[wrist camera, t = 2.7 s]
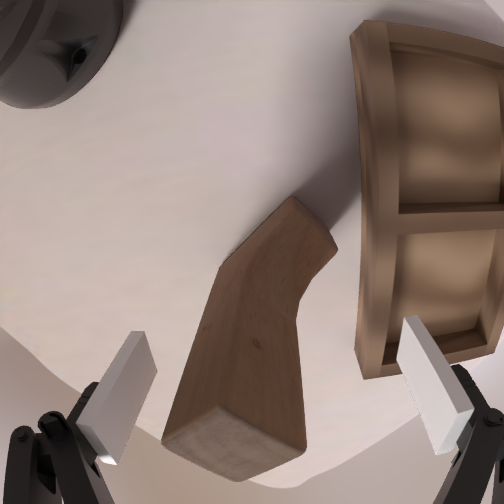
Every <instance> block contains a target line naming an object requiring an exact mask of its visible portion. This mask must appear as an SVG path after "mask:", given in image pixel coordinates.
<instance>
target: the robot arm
mask: <svg viewBox="0 0 504 504" xmlns="http://www.w3.org/2000/svg"><path fill="white" fill-rule="evenodd" d="M122 10H123V3H122V0H0V101H2V102H4V103H6V104H8V105H10V106H13V107H16V108H21V109H39V108H47V107H51V106H54V105H57V104H59V103H61V102H63V101H65V100H67V99H69V98H70V97H71V96H73V95H74V94H76V93H77V92H78V91H79V90H80V89H82V88H83V87H84V86H85V85H86V84H87V83H88V82H89V81H90V80H91V79H92V77H93V76H94V75H95V74H96V72H97V71H98V70H99V69H100V67H101V66H102V64H103V63H104V61H105V59H106V58H107V56H108V54H109V53H110V51H111V49H112V47H113V44H114V42H115V40H116V37H117V34H118V31H119V28H120V24H121V19H122ZM396 360H397V362H398V364H399V366H400V369H401V371H402V373H403V375H404V378H405V380H406V382H407V385H408V387H409V389H410V391H411V394H412V396H413V399H414V401H415V403H416V406H417V408H418V411H419V413H420V416H421V418H422V421H423V423H424V425H425V428H426V431H427V433H428V436H429V438H430V441H431V444H432V446H433V449H434V451H435V454H436V455H439V454H443V453H446V452H449V451H452V449H453V448H454V446H455V444H456V443H457V445H458V448H459V451H458V452H457V454H456V456H455V457H454V459H453V460H452V462H451V463H453V464H452V466H451V468H450V471H449V472H448V475H447V477H446V479H445V481H444V483H443V485H442V487H441V489H440V491H439V493H438V495H437V497H436V499H435V501H434V502H433V504H480V503H481V500H482V498H483V495H484V493H485V490H486V487H487V484H488V481H489V479H490V476H491V473H492V470H493V467H494V464H495V475H494V488H493V496H492V504H504V414H503V413H502V412H501V411H499V410H497V409H495V408H490V407H489V405H488V404H487V402H486V400H485V399H484V397H483V395H482V394H481V392H480V390H479V389H478V387H477V386H476V384H475V382H474V381H473V380H472V377H471V376H470V374H469V373H468V371H467V370H466V369H465V368H463V367H462V366H461V365H459V364H457V365H452V366H450V365H449V363H448V362H447V360H446V359H445V357H444V355H443V354H442V352H441V351H440V349H439V347H438V346H437V344H436V343H435V341H434V340H433V338H432V336H431V335H430V333H429V332H428V330H427V329H426V327H425V326H424V324H423V323H422V321H421V320H420V318H419V317H418V315H415V316H407V317H404V320H403V326H402V332H401V338H400V343H399V348H398V354H397V359H396ZM156 373H157V369H156V366H155V363H154V360H153V357H152V354H151V351H150V348H149V345H148V341H147V338H146V335H145V332H144V331H131V333H130V334H129V336H128V337H127V339H126V340H125V342H124V344H123V345H122V347H121V348H120V350H119V352H118V353H117V355H116V356H115V358H114V360H113V361H112V363H111V364H110V366H109V368H108V369H107V371H106V373H105V374H104V376H103V377H102V379H101V381H100V382H92V383H91V384H90V385H89V386H88V387H86V388H85V390H84V392H83V393H82V395H81V397H80V398H79V400H78V401H77V403H76V405H75V406H74V408H73V409H72V411H71V413H70V414H69V416H68V418H67V419H65V418H64V416H63V415H62V414H61V413H60V412H57V411H51V412H48V413H46V414H44V415H43V416H42V417H41V418H40V419H39V421H38V428H39V429H40V430H41V432H42V433H34V431H33V430H32V429H31V427H29V426H20V427H18V428H16V429H15V430H14V431H13V433H12V435H11V438H10V444H9V451H8V458H7V466H6V473H5V483H4V496H3V504H62V498H63V501H64V504H115V503H114V501H113V499H112V497H111V494H110V492H109V490H108V488H107V486H106V484H105V481H104V479H103V477H102V474H101V472H100V470H99V467H98V465H97V463H96V462H95V459H96V457H97V455H98V456H99V457H100V459H101V460H102V462H105V463H109V464H114V465H118V463H119V460H120V458H121V456H122V453H123V451H124V448H125V446H126V443H127V441H128V439H129V436H130V434H131V431H132V429H133V427H134V424H135V422H136V420H137V417H138V415H139V412H140V410H141V408H142V405H143V403H144V401H145V398H146V396H147V394H148V392H149V389H150V387H151V385H152V382H153V380H154V378H155V375H156Z"/></svg>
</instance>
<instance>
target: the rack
mask: <svg viewBox="0 0 504 504" xmlns="http://www.w3.org/2000/svg"><path fill="white" fill-rule="evenodd" d="M350 44H351V52H352V59H353V68H354V76H355V86H356V96H357V108H358V121H359V136H360V156H361V192H362V229H361V265H360V286H359V302H358V315H357V327H356V338H355V348H354V350H355V353H356V356H357V360H358V363H359V366H360V369H361V373H362V376H363V379H364V380H365V379H372V378H379V377H386V376H392V375H398V374H403V373H402V371H401V369H400V366H399V364H398V362H397V360H396V359H397V354H398V348H399V343H400V338H401V332H402V326H403V320H404V317H407V316H415V315H418V317H419V318H420V320H421V321H422V323H423V324H424V326H425V327H426V329H427V330H428V332H429V333H430V335H431V336H432V338H433V340H434V341H435V343H436V344H437V346H438V347H439V349H440V351H441V352H442V354H443V355H444V357H445V359H446V360H447V362H448V363H449V364H454V363H458V362H462V361H466V360H470V359H474V358H478V357H482V356H486V355H489V354H493V353H494V352H495V349H496V346H497V343H498V341H499V338H500V335H501V332H502V329H503V326H504V47H501V46H498V45H494V44H491V43H488V42H484V41H481V40H477V39H474V38H470V37H466V36H462V35H458V34H453V33H449V32H444V31H440V30H435V29H429V28H424V27H418V26H411V25H405V24H397V23H389V22H380V21H369V20H364V21H363V22H362V23H361V25H360V26H359V27H358V28H357V29H356V30H355V31H354V32H353V33H352V34H351V35H350Z"/></svg>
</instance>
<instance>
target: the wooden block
mask: <svg viewBox="0 0 504 504" xmlns="http://www.w3.org/2000/svg"><path fill="white" fill-rule="evenodd" d="M337 251H338V248H337V245H336V243H335V241H334V239H333V237H332V235H331V234H330V232H329V230H328V228H327V227H326V226H325V225H324V224H323V223H322V222H321V221H319V220H318V219H317V218H316V217H315V216H314V215H313V214H312V213H311V212H310V211H309V210H308V209H307V208H306V207H305V206H304V205H303V204H302V203H301V202H300V201H299V200H298V199H297V198H296V197H293V196H291V197H288V198H287V199H286V200H285V201H284V202H283V203H282V204H281V205H280V206H279V208H278V209H277V210H276V211H275V212H274V213H273V214H272V215H271V216H270V217H269V218H268V219H267V220H266V221H265V222H264V223H263V224H262V225H261V226H260V227H259V228H258V229H257V230H256V231H255V232H254V233H253V234H252V235H251V236H250V237H249V238H248V239H247V240H246V241H245V242H244V243H243V244H242V245H241V246H240V247H239V248H238V249H237V250H236V251H235V252H234V253H233V254H232V255H231V256H230V257H229V258H228V259H227V260H226V261H225V262H224V263H223V264H222V265H221V266H220V267H219V270H218V273H217V276H216V278H215V281H214V284H213V286H212V289H211V292H210V295H209V298H208V301H207V304H206V307H205V309H204V312H203V315H202V318H201V321H200V324H199V327H198V330H197V333H196V336H195V339H194V342H193V345H192V348H191V351H190V354H189V357H188V360H187V363H186V365H185V368H184V371H183V374H182V377H181V380H180V383H179V386H178V390H177V393H176V396H175V399H174V402H173V405H172V408H171V411H170V414H169V417H168V420H167V423H166V426H165V429H164V433H163V436H162V439H161V444H162V445H163V446H164V447H165V448H166V449H168V450H169V451H171V452H173V453H175V454H177V455H179V456H181V457H182V458H184V459H186V460H188V461H190V462H192V463H194V464H196V465H198V466H200V467H202V468H204V469H206V470H208V471H211V472H213V473H215V474H217V475H220V476H222V477H224V478H226V479H228V480H231V481H235V482H241V481H244V480H247V479H249V478H252V477H254V476H256V475H259V474H261V473H264V472H266V471H268V470H271V469H273V468H275V467H277V466H280V465H282V464H284V463H286V462H288V461H290V460H293V459H295V458H297V457H299V456H301V455H302V454H303V453H304V452H305V451H306V448H307V440H306V426H305V413H304V401H303V389H302V378H301V367H300V356H299V346H298V336H297V326H296V317H297V312H298V307H299V301H300V299H301V297H302V296H303V294H304V292H305V291H306V289H307V287H308V285H309V283H310V282H311V280H312V278H313V277H314V276H315V275H316V274H317V273H318V272H319V271H320V270H321V269H322V268H323V267H324V266H325V265H326V264H327V263H328V262H329V261H330V259H331V258H332V257H333V256H334V255H335V254H336V253H337Z"/></svg>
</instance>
